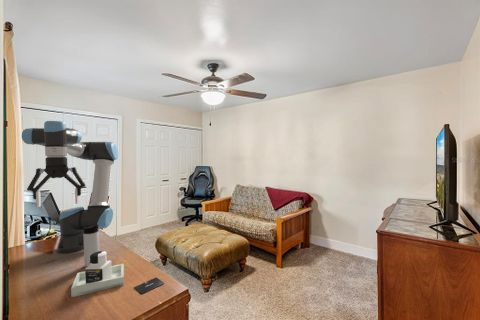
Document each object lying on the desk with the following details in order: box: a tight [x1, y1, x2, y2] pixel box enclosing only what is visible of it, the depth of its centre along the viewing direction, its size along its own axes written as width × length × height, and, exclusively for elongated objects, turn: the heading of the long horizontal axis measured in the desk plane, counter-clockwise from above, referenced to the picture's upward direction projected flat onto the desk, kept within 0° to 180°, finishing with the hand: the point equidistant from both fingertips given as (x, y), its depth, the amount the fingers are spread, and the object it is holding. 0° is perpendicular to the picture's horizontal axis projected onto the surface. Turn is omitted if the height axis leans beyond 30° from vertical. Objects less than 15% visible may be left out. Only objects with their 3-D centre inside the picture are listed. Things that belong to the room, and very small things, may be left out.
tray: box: [70, 263, 125, 298], centre depth 100 cm, size 13×18×4 cm
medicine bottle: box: [84, 250, 113, 284], centre depth 99 cm, size 7×7×12 cm
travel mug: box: [83, 225, 100, 269], centre depth 115 cm, size 6×7×20 cm
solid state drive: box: [133, 277, 165, 295], centre depth 97 cm, size 7×10×1 cm
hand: (58, 204), depth 103 cm, fingers open, 13 cm apart
